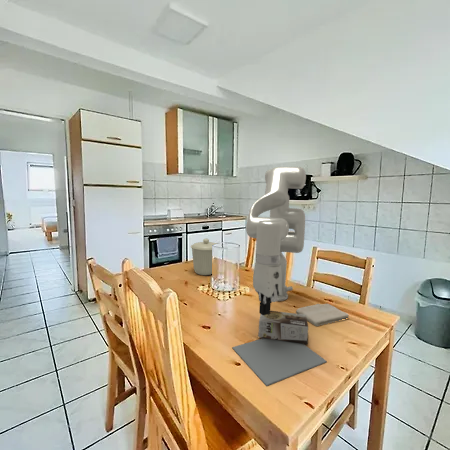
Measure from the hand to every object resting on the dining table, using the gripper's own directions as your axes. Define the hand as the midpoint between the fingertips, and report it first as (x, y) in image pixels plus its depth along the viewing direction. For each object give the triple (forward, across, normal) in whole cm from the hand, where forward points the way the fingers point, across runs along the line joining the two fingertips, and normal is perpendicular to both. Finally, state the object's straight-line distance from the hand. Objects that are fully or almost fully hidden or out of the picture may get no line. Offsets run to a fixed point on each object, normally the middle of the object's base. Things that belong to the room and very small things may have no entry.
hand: (264, 313), depth 86 cm
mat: (+10, -8, 0) cm, 13 cm away
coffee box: (+6, +6, -2) cm, 9 cm away
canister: (+10, +75, -12) cm, 77 cm away
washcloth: (+11, +5, -33) cm, 35 cm away
